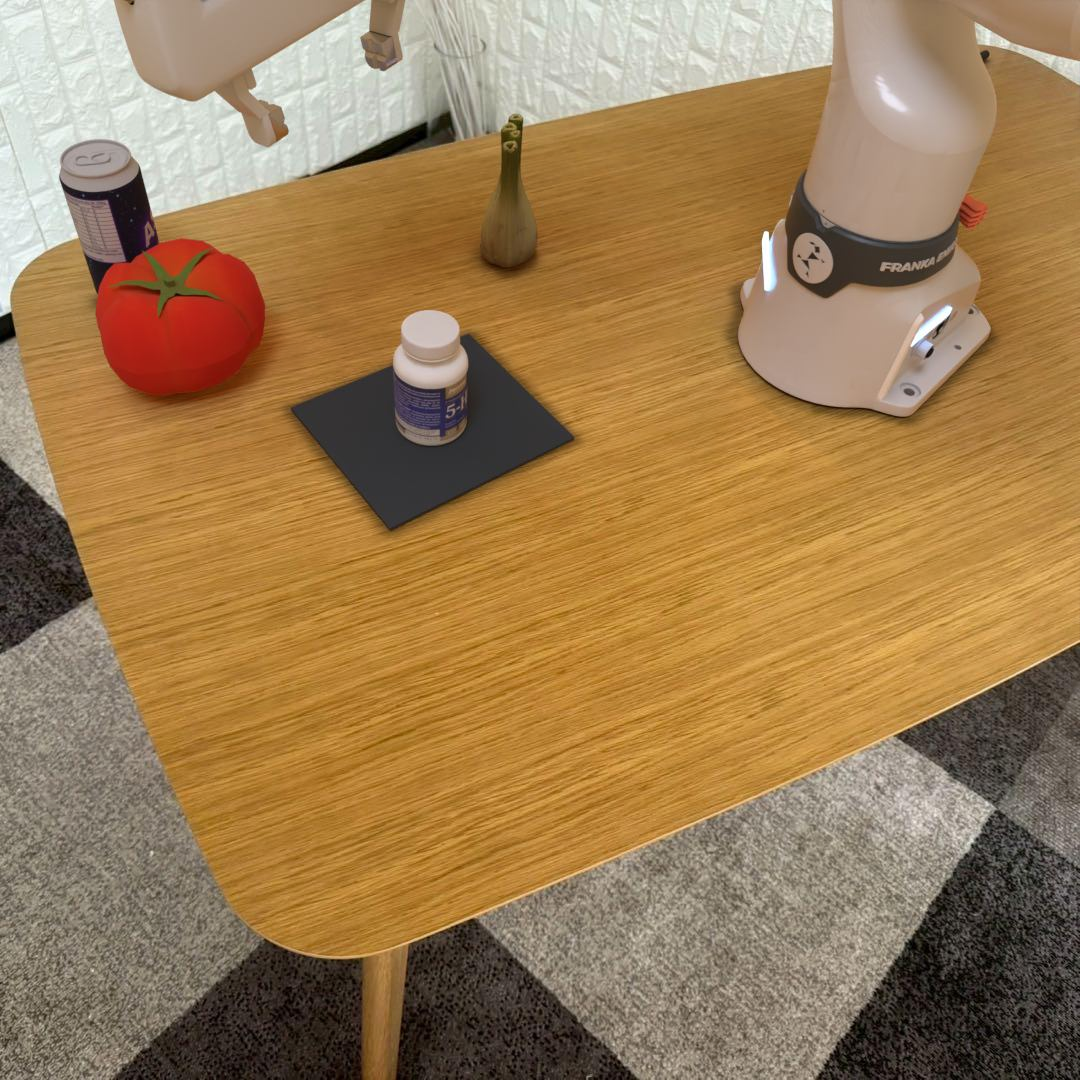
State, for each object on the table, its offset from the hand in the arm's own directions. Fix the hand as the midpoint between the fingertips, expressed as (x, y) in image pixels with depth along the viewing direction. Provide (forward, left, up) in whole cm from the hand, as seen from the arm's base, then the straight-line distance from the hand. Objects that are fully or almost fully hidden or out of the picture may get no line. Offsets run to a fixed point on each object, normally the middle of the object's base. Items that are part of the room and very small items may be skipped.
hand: (330, 100), depth 59 cm
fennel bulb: (-20, -8, -24) cm, 32 cm away
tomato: (+9, -10, -24) cm, 27 cm away
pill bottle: (-3, +6, -23) cm, 24 cm away
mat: (-3, +6, -23) cm, 24 cm away
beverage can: (+9, -20, -24) cm, 32 cm away
